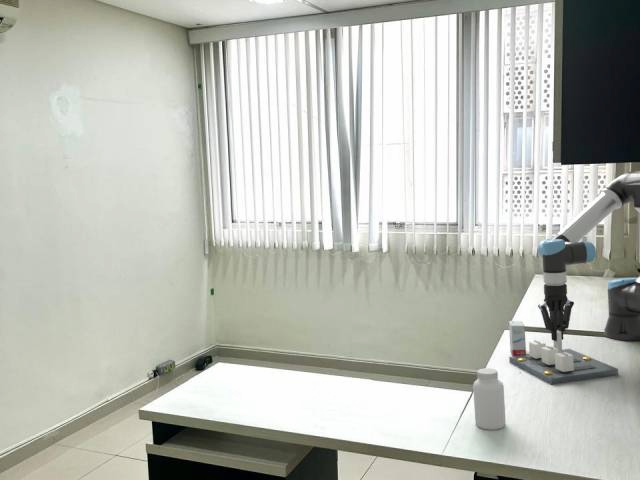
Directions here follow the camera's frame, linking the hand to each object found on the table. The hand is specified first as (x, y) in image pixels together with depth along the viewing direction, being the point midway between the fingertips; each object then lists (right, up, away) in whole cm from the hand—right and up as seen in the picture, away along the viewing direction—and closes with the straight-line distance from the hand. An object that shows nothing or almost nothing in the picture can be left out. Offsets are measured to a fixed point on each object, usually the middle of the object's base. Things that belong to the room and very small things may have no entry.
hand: (557, 349), depth 214 cm
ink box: (-10, -4, +11) cm, 16 cm away
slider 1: (-8, -2, -1) cm, 8 cm away
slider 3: (-5, -4, -17) cm, 18 cm away
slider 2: (-6, -3, -9) cm, 12 cm away
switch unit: (-2, -5, -8) cm, 10 cm away
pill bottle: (-38, -12, -50) cm, 64 cm away
